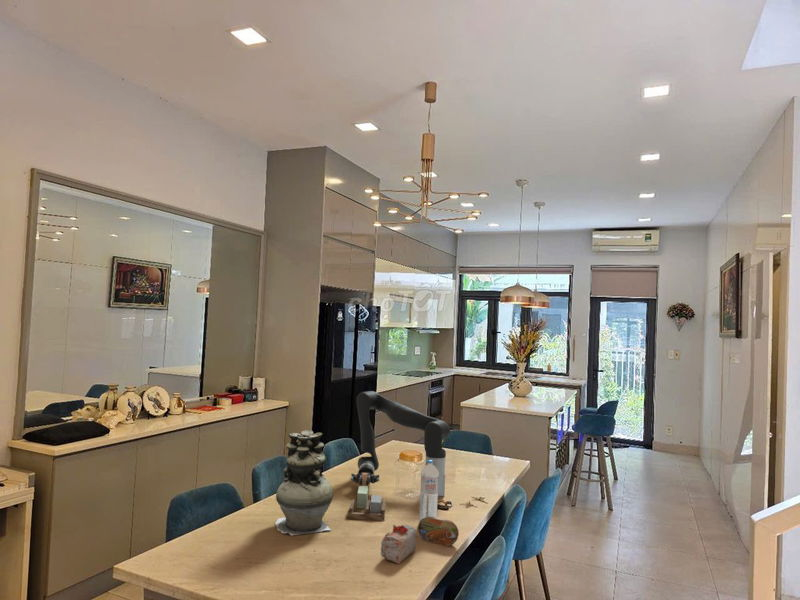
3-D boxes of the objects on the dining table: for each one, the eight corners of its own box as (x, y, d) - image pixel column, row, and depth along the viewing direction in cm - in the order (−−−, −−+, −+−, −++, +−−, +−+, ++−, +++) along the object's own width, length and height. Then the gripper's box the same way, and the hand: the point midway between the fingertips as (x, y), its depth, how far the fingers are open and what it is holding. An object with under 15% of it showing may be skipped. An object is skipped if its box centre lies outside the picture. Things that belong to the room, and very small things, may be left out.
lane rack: (385, 509, 221) (385, 501, 221) (384, 520, 209) (384, 511, 209) (351, 507, 221) (352, 499, 221) (348, 518, 209) (349, 509, 209)
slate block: (380, 510, 221) (381, 495, 221) (380, 517, 212) (380, 502, 212) (371, 509, 221) (371, 494, 221) (369, 517, 212) (370, 502, 212)
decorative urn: (282, 542, 185) (287, 441, 186) (268, 519, 204) (272, 428, 205) (339, 532, 195) (344, 437, 196) (320, 511, 214) (325, 424, 214)
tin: (417, 539, 192) (418, 515, 193) (420, 536, 195) (421, 513, 195) (455, 549, 185) (456, 524, 185) (459, 546, 188) (460, 521, 188)
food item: (400, 567, 169) (401, 535, 170) (378, 561, 173) (379, 530, 173) (417, 551, 182) (419, 522, 182) (397, 546, 185) (398, 517, 186)
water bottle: (438, 524, 207) (441, 459, 208) (433, 530, 201) (436, 463, 202) (421, 521, 209) (424, 457, 211) (416, 527, 203) (419, 461, 204)
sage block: (368, 495, 238) (369, 473, 238) (366, 508, 221) (367, 483, 222) (359, 495, 238) (360, 472, 238) (356, 507, 221) (357, 483, 222)
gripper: (352, 463, 251) (348, 473, 234) (381, 465, 251) (380, 475, 234) (351, 480, 251) (347, 491, 234) (380, 481, 251) (379, 492, 234)
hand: (364, 483), depth 234 cm, fingers closed on sage block, 2 cm apart
